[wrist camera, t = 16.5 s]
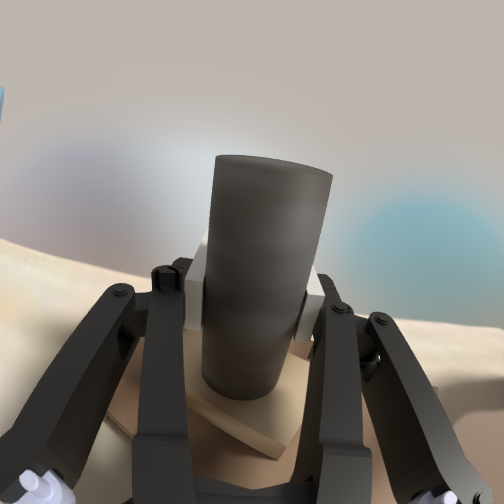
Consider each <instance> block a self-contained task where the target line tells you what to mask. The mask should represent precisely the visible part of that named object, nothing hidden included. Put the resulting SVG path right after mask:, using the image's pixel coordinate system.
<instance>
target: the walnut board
mask: <svg viewBox="0 0 504 504" xmlns="http://www.w3.org/2000/svg"><path fill="white" fill-rule="evenodd" d="M186 330H188V329H185V322H184V325H183V332H185V331H186ZM144 340H145V337H140V340H139V342H138V344H137V346H136V349H135V351H134V353H133V355H132V357H131V359H130V361H129V363H128V365H127V367H126V369H125V372H124V374H123V376H122V378H121V380H120V382H119V385H118V387H117V389H116V391H115V393H114V396H113V398H112V400H111V402H110V405H109V407H108V409H107V412H106V415H107V416H108V417H109V418H110V419H111V420H112V421H113V422H114V423H115V424H116V425H117V426H118V427H119V428H120V429H121V430H122V431H123V432H124V433H126V434H127V435H128V436H129V437H130V438H131V439H132V440H133V436H134V435H135V434H136V433H137V423H138V403H139V389H140V377H141V366H142V357H143V348H144ZM313 342H314V341H311V340H310V342H294V338H293V336H292V340H291V343H290V346H289V349H288V353H290V354H292V355H295V356H297V357H299V358H301V359H303V360H306V361H308V362H310V359H307V358H308V355H309V353H310V350H311V347H312V345H313ZM432 388H433V389H434V391H435V393H436V395H437V389H438V388H437V387H434V386H432ZM186 409H187V421H188V432H189V441H190V451H191V459H192V467H193V474H194V476H195V477H202V478H210V479H217V480H220V481H223V482H227V483H230V484H233V485H237V486H240V487H244V488H248V489H260V488H265V487H270V486H275V485H279V484H283V483H287V482H289V481H290V478H291V476H292V474H293V471H294V467H295V461H296V456H297V450H298V445H299V439H300V433H301V426H302V424H301V425H300V427H299V429H298V430H297V432H296V434H295V435H294V437H293V438H292V440H291V442H290V443H289V445H288V446H287V448H286V449H285V451H284V452H283V454H282V455H281V457H280V458H279V460H276V459H274V458H272V457H270V456H268V455H266V454H264V453H262V452H260V451H258V450H256V449H254V448H252V447H251V446H249V445H247V444H245V443H243V442H242V441H240V440H238V439H236V438H235V437H233V436H231V435H230V434H228V433H226V432H225V431H223V430H221V429H220V428H218V427H217V426H215V425H213V424H212V423H210V422H209V421H207V420H206V419H204V418H203V417H201V416H200V415H198V414H197V413H195V412H194V411H192V410H191V409H190V408H188V407H187V406H186ZM362 411H363V444H364V446H365V447H368V448H370V450H371V451H372V496H371V504H397V502H396V500H395V498H394V496H393V493H392V490H391V487H390V483H389V479H388V475H387V472H386V468H385V465H384V461H383V457H382V454H381V451H380V447H379V444H378V441H377V437H376V434H375V431H374V428H373V424H372V421H371V418H370V415H369V412H368V409H367V406H366V403H365V400H364V397H363V394H362Z"/></svg>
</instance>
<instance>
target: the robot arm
mask: <svg viewBox="0 0 504 504" xmlns="http://www.w3.org/2000/svg"><path fill="white" fill-rule="evenodd" d="M3 99H4V88H3V87H0V119H1V112H2V105H3ZM208 230H209V227H208V229H207V231H206V233H205V235H204V237H203V240H202V241H201V244H200V246H199V248H198V250H197V253H196V255H195V257H194V259H189V258H182V257H180V258H178V259H177V260H175V261H174V262H173V264H172V265H171V266H170V265H162V266H159V267H156V268H155V269H153V270H152V272H151V277H152V291H150V292H145V293H135V290H134V287H132V286H131V285H129V284H126V283H117V284H114V285H112V286H110V287H109V288H107V290H106V291H105V292H104V293H103V294H102V296H101V297H100V298H99V299H98V301H97V302H96V303H95V304H94V306H93V307H92V308H91V309H90V311H89V312H88V313H87V315H86V316H85V317H84V318H83V320H82V321H81V322H80V324H79V325H78V326H77V328H76V329H75V330H74V332H73V333H72V334H71V336H70V337H69V339H68V340H67V341H66V343H65V344H64V345H63V347H62V348H61V350H60V351H59V353H58V354H57V355H56V357H55V358H54V360H53V361H52V363H51V364H50V366H49V367H48V369H47V370H46V372H45V373H44V375H43V376H42V378H41V379H40V381H39V382H38V384H37V386H36V387H35V389H34V390H33V392H32V394H31V395H30V397H29V399H28V400H27V402H26V404H25V405H24V407H23V409H22V410H21V412H20V414H19V416H18V417H17V419H16V421H15V423H14V425H13V427H12V428H11V429H10V430H8V431H7V432H6V433H5V434H4V435H3V436H2V437H1V438H0V501H2V502H3V503H5V504H76V498H75V495H74V493H73V491H72V489H73V488H74V486H75V485H76V483H77V481H78V480H79V478H80V476H81V474H82V471H83V469H84V467H85V464H86V461H87V459H88V456H89V454H90V451H91V448H92V446H93V443H94V441H95V438H96V436H97V433H98V431H99V428H100V426H101V423H102V421H103V419H104V416H105V414H106V412H107V409H108V407H109V405H110V402H111V400H112V398H113V396H114V393H115V391H116V389H117V387H118V385H119V382H120V380H121V378H122V376H123V374H124V372H125V369H126V367H127V365H128V363H129V361H130V359H131V357H132V355H133V353H134V351H135V349H136V346H137V344H138V342H139V340H140V337H145V340H144V348H143V357H142V366H141V377H140V389H139V403H138V423H137V433H136V434H135V435H134V436H133V441H132V491H133V497H132V498H130V499H129V500H127V501H125V502H124V503H122V504H371V496H372V451H371V450H370V448H368V447H365V446H364V444H363V411H362V394H363V397H364V400H365V403H366V406H367V409H368V412H369V415H370V418H371V421H372V424H373V428H374V431H375V434H376V437H377V441H378V444H379V447H380V451H381V454H382V457H383V461H384V465H385V468H386V472H387V475H388V479H389V483H390V487H391V490H392V493H393V496H394V498H395V500H396V502H397V504H492V503H493V492H492V490H491V488H490V487H489V486H488V484H487V483H486V482H485V481H484V479H483V478H482V477H481V476H480V475H479V473H478V472H477V471H476V470H475V469H474V467H473V466H472V465H471V464H470V462H469V461H468V460H467V459H466V458H465V456H464V453H463V451H462V449H461V446H460V444H459V442H458V439H457V437H456V435H455V432H454V430H453V428H452V426H451V424H450V422H449V419H448V417H447V415H446V413H445V411H444V409H443V407H442V405H441V403H440V401H439V399H438V397H437V395H436V393H435V391H434V389H433V388H432V386H431V384H430V382H429V380H428V378H427V376H426V375H425V373H424V371H423V369H422V367H421V366H420V364H419V362H418V360H417V358H416V357H415V355H414V353H413V352H412V350H411V348H410V346H409V345H408V343H407V341H406V340H405V338H404V336H403V335H402V333H401V331H400V330H399V328H398V327H397V325H396V323H395V322H394V320H393V319H392V318H391V317H390V316H388V315H387V314H385V313H382V312H373V313H371V314H370V316H369V318H368V319H367V318H363V317H359V316H356V315H354V312H353V309H352V308H351V307H350V306H349V305H348V304H346V303H344V302H342V301H341V299H340V296H339V294H338V292H337V290H336V287H335V286H334V283H333V281H332V280H331V278H329V277H328V276H327V275H324V274H317V273H316V271H315V268H314V266H313V265H312V269H311V273H310V277H309V281H308V284H307V288H306V292H305V295H304V299H303V302H302V306H301V309H300V313H299V316H298V320H297V323H296V326H295V330H294V333H293V338H294V342H310V339H311V336H312V334H313V338H314V342H313V345H312V347H311V350H310V353H309V355H308V358H307V359H310V365H309V374H308V383H307V391H306V398H305V406H304V413H303V420H302V426H301V433H300V439H299V445H298V450H297V456H296V461H295V467H294V471H293V474H292V476H291V478H290V481H289V482H287V483H283V484H279V485H275V486H270V487H265V488H260V489H248V488H244V487H240V486H237V485H233V484H230V483H227V482H223V481H220V480H217V479H210V478H202V477H195V476H194V474H193V467H192V459H191V451H190V441H189V432H188V421H187V409H186V395H185V378H184V356H183V325H184V322H185V329H188V330H194V331H201V328H202V324H203V307H204V287H205V270H206V256H207V242H208ZM379 355H380V359H379V357H378V356H379Z"/></svg>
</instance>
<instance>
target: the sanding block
mask: <svg viewBox="0 0 504 504" xmlns="http://www.w3.org/2000/svg"><path fill="white" fill-rule="evenodd" d="M332 178H333V175H332V174H330V173H328V172H326V171H323V170H320V169H317V168H314V167H310V166H306V165H302V164H298V163H294V162H289V161H283V160H278V159H271V158H265V157H256V156H246V155H219V156H216V159H215V168H214V177H213V187H212V196H211V207H210V218H209V230H208V242H207V256H206V270H205V287H204V307H203V324H202V328H201V331H194V330H186V331H185V332H183V356H184V378H185V395H186V406H187V407H188V408H190V409H191V410H192V411H194V412H195V413H197V414H198V415H200V416H201V417H203V418H204V419H206V420H207V421H209V422H210V423H212V424H213V425H215V426H217V427H218V428H220V429H221V430H223V431H225V432H226V433H228V434H230V435H231V436H233V437H235V438H236V439H238V440H240V441H242V442H243V443H245V444H247V445H249V446H251V447H252V448H254V449H256V450H258V451H260V452H262V453H264V454H266V455H268V456H270V457H272V458H274V459H276V460H279V458H280V457H281V455H282V454H283V452H284V451H285V449H286V448H287V446H288V445H289V443H290V442H291V440H292V438H293V437H294V435H295V434H296V432H297V430H298V429H299V427H300V425H301V424H302V420H303V413H304V406H305V398H306V391H307V383H308V374H309V365H310V362H308V361H306V360H303V359H301V358H299V357H297V356H295V355H292V354H290V353H288V349H289V346H290V343H291V340H292V336H293V333H294V330H295V326H296V323H297V320H298V316H299V313H300V309H301V306H302V302H303V299H304V295H305V292H306V288H307V284H308V281H309V277H310V273H311V269H312V265H313V261H314V258H315V254H316V250H317V246H318V242H319V237H320V233H321V229H322V225H323V220H324V215H325V211H326V207H327V202H328V198H329V193H330V188H331V183H332Z"/></svg>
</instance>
